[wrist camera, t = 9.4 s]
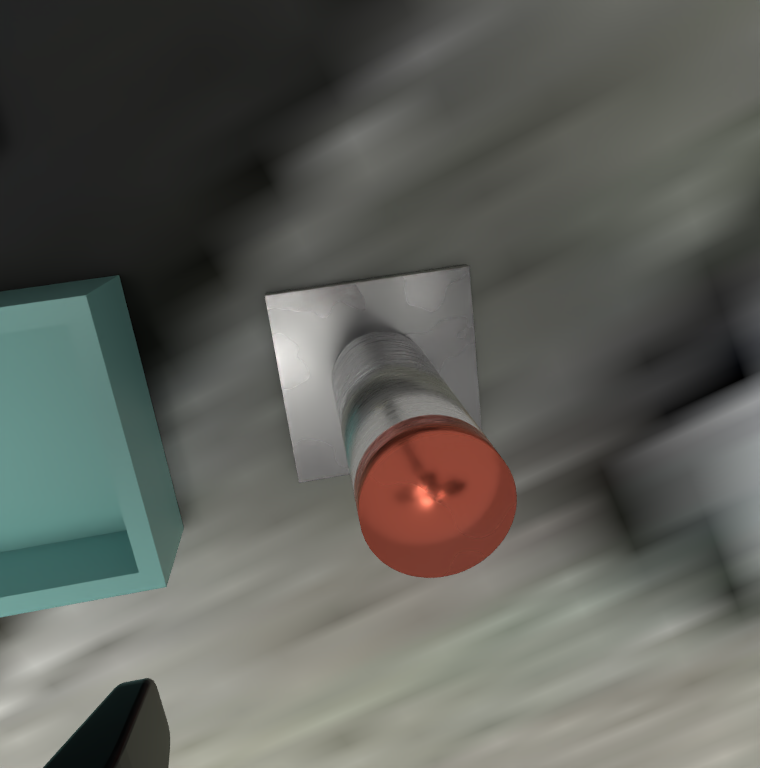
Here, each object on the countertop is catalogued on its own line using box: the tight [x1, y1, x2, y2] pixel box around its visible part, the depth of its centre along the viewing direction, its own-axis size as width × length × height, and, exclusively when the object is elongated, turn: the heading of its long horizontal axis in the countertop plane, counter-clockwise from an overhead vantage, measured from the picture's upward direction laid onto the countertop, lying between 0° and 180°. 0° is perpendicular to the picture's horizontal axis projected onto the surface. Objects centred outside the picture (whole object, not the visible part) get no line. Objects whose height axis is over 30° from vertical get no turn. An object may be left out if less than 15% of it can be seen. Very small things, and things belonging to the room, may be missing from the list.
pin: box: [332, 331, 517, 578], centre depth 16 cm, size 3×3×8 cm
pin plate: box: [265, 265, 482, 483], centre depth 20 cm, size 6×6×1 cm
